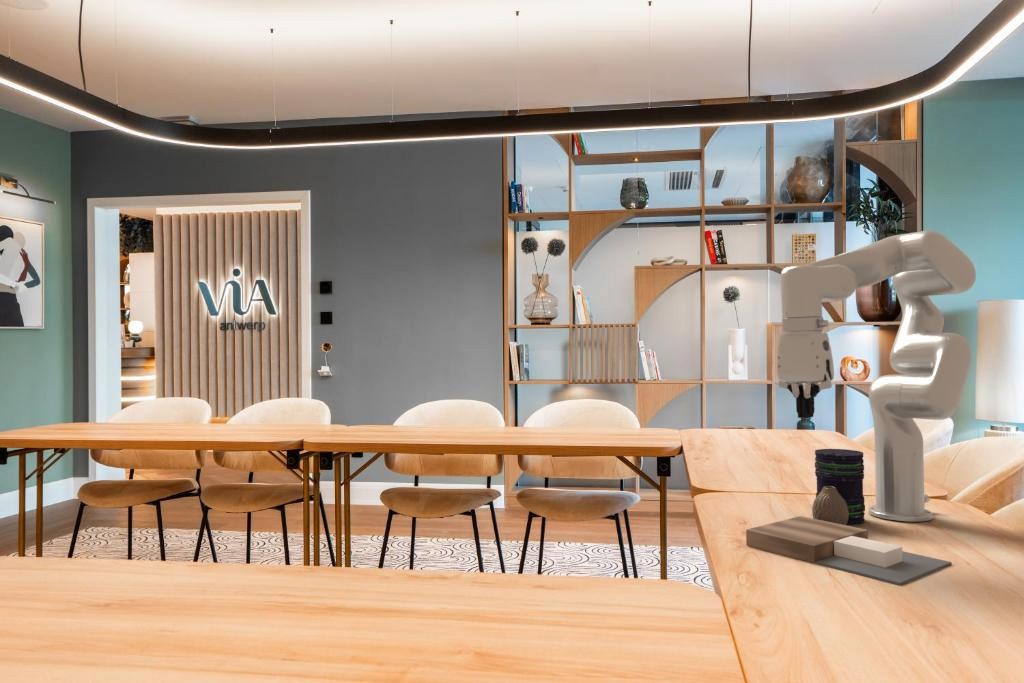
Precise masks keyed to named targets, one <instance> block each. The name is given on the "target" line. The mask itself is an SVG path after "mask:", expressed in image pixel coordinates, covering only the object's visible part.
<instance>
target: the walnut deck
mask: <svg viewBox="0 0 1024 683" xmlns="http://www.w3.org/2000/svg"><path fill="white" fill-rule="evenodd" d="M745 530H746V532H745V536H746V538H745V539H746V540H745V541H746V542H745V543H746V545H745V546H748V547H752V548H755V549H759V550H762V551H766V552H771V553H775V554H779V555H783V556H786V557H790V558H792V559H793V558H794V559H797V560H801V561H805V562H809V563H813V564H817V561H820V560H823V559H826V558H829V557H832V556H835V555H834V541H836V540H840V539H843V538H846V537H849V536H855V537H859V538H864V539H869V531H868V529H865V528H861V527H855V526H847V525H842V524H837V523H832V522H827V521H822V520H817V519H813V518H811V517H806V516H803V515H802V516H801V515H800V516H794V517H791V518H787V519H783V520H778V521H775V522H771V523H767V524H763V525H759V526H756V527H755V526H754V527H752V528H751V527H750V528H746V529H745Z"/></svg>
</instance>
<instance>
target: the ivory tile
mask: <svg viewBox="0 0 1024 683" xmlns="http://www.w3.org/2000/svg"><path fill="white" fill-rule="evenodd" d="M902 551H903V546H900V545H895V544H891V543H886V542H881V541H876V540H873V539H869V538H868V539H864V538H859V537H855V536H849V537H846V538H843V539H840V540H836V541H834V555H835V556H840V557H844V558H848V559H852V560H856V561H860V562H864V563H868V564H872V565H876V566H881V567H888V566H891V565H893V564H896V563H899V562H901V561H902Z"/></svg>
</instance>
